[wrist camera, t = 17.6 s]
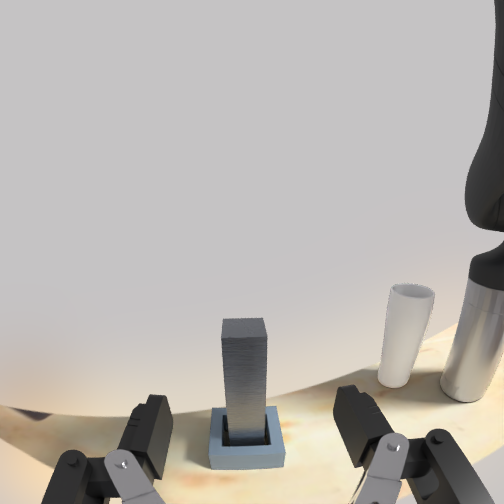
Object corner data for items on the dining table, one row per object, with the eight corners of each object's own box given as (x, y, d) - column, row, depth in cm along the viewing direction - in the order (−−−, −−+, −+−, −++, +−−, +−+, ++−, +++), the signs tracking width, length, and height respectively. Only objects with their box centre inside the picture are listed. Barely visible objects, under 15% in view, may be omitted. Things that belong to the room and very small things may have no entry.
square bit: (260, 434, 27) (262, 317, 23) (263, 455, 23) (267, 336, 20) (231, 435, 26) (222, 318, 23) (231, 457, 23) (221, 337, 20)
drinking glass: (364, 374, 37) (380, 285, 34) (396, 364, 38) (414, 280, 35) (386, 397, 31) (411, 301, 28) (419, 384, 32) (444, 294, 29)
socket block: (274, 421, 29) (276, 405, 28) (283, 466, 21) (285, 452, 21) (214, 423, 28) (212, 407, 28) (211, 469, 21) (208, 455, 20)
